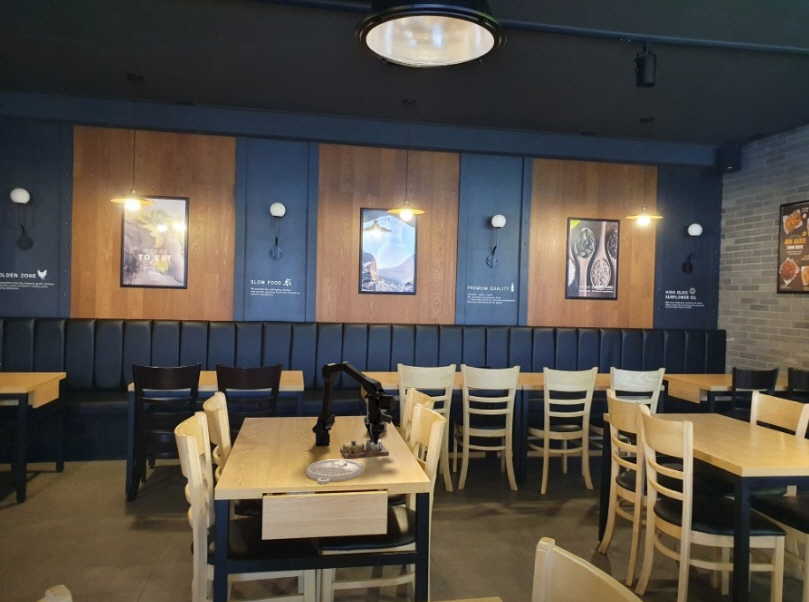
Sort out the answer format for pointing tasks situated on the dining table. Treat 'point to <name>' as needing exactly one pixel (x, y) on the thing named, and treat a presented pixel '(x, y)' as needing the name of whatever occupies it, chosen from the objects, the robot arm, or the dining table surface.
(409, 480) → the dining table surface
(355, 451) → the gear board
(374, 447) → the steel gear
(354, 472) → the medallion
